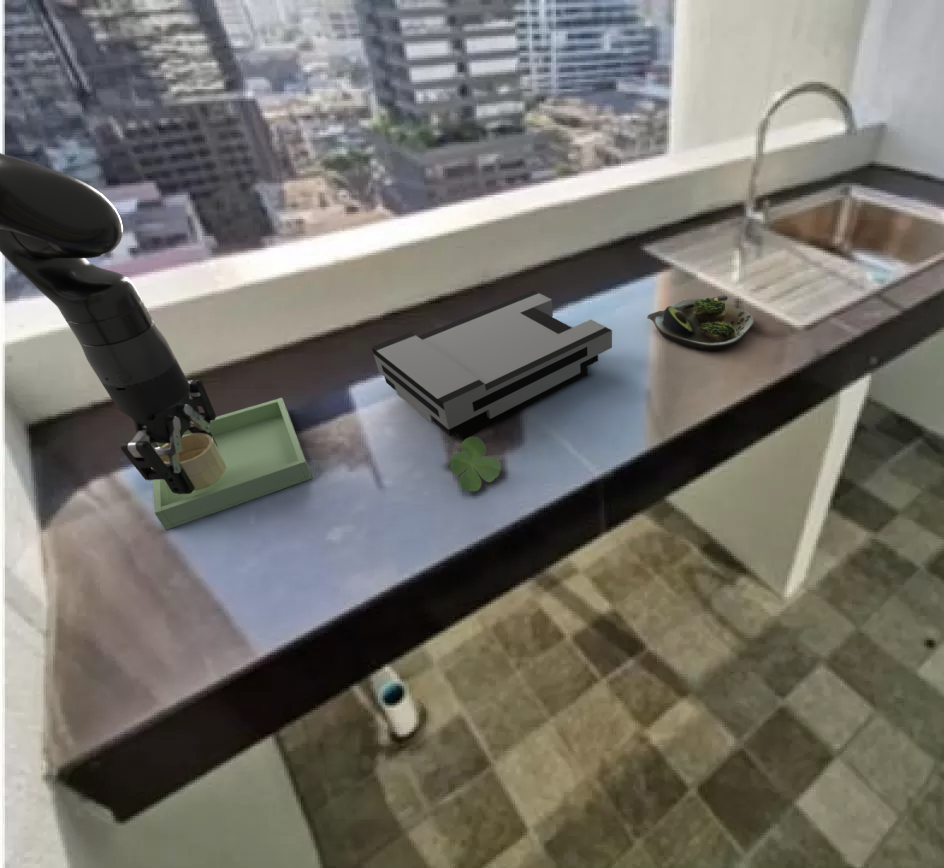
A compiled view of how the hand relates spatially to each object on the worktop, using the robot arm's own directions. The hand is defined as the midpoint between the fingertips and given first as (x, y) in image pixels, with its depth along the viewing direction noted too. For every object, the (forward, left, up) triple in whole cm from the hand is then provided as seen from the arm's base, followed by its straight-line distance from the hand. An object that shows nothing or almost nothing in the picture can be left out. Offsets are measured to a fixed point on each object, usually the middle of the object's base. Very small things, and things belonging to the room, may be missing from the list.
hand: (198, 473), depth 79 cm
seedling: (+32, -16, -3) cm, 36 cm away
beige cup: (0, 0, -1) cm, 1 cm away
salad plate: (+84, -1, -3) cm, 84 cm away
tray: (+4, +4, -3) cm, 6 cm away
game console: (+45, +4, -3) cm, 45 cm away
